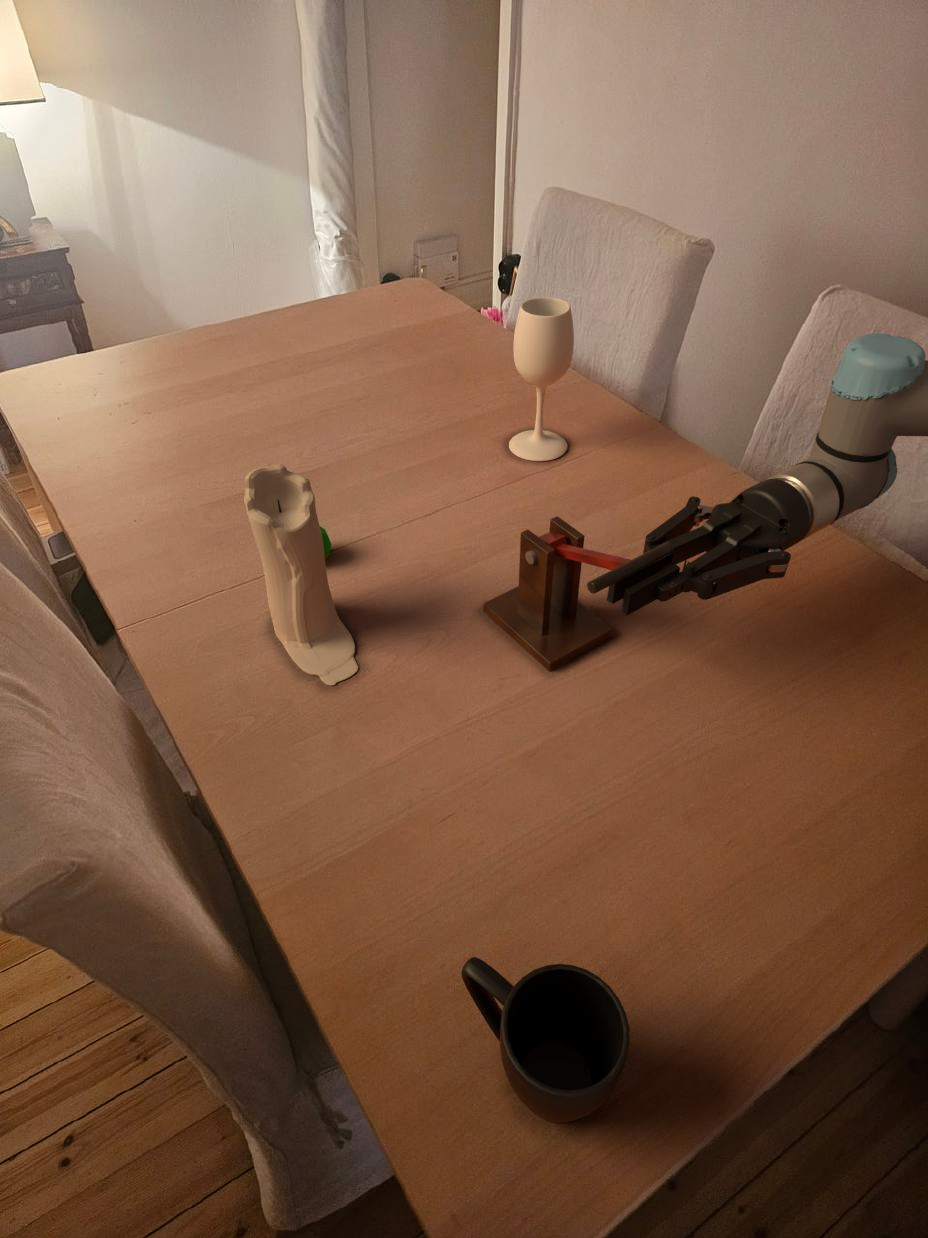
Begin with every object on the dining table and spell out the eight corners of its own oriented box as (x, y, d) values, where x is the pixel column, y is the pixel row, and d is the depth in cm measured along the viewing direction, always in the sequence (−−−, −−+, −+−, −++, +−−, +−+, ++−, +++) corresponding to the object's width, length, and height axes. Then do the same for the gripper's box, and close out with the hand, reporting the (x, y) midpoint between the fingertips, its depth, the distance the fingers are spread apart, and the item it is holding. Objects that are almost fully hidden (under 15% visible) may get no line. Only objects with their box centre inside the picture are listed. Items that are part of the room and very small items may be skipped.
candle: (314, 694, 86) (283, 542, 73) (265, 619, 95) (229, 470, 81) (375, 667, 89) (356, 516, 75) (321, 597, 98) (296, 449, 84)
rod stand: (611, 637, 92) (624, 546, 83) (549, 671, 88) (556, 580, 79) (542, 582, 99) (548, 493, 91) (483, 611, 95) (483, 521, 87)
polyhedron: (289, 552, 104) (283, 521, 101) (327, 543, 105) (322, 512, 102) (298, 575, 101) (292, 544, 97) (337, 566, 102) (333, 535, 99)
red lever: (675, 560, 78) (672, 537, 78) (597, 601, 74) (593, 577, 73) (580, 539, 90) (576, 518, 89) (508, 573, 86) (503, 552, 85)
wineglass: (497, 450, 122) (499, 310, 107) (528, 425, 127) (534, 288, 112) (548, 468, 118) (557, 325, 104) (577, 441, 123) (590, 302, 109)
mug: (502, 966, 65) (504, 906, 58) (635, 1070, 59) (654, 1016, 53) (434, 1053, 60) (428, 998, 54) (572, 1174, 54) (584, 1129, 48)
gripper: (829, 572, 85) (668, 669, 75) (722, 508, 94) (565, 587, 84) (851, 513, 80) (681, 608, 70) (736, 451, 89) (571, 528, 79)
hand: (618, 597), depth 77 cm, fingers closed
